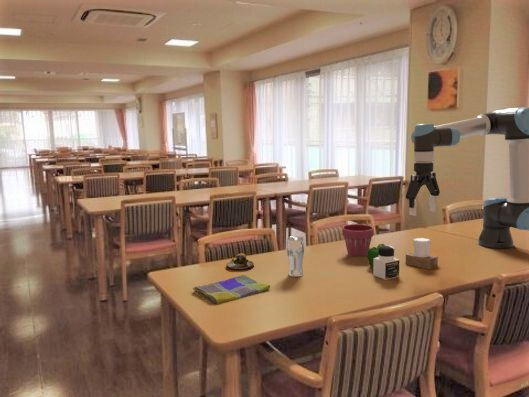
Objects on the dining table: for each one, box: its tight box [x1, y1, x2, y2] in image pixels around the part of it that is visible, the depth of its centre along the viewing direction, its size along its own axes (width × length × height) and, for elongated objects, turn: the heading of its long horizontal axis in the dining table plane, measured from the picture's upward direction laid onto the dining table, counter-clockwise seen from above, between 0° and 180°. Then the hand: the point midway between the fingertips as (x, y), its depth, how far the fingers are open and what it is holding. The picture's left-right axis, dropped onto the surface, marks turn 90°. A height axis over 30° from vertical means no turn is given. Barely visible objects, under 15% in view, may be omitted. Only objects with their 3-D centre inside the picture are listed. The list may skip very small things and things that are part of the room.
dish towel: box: [192, 274, 271, 305], centre depth 166 cm, size 18×24×3 cm
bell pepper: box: [367, 243, 385, 268], centre depth 189 cm, size 8×8×10 cm
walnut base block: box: [405, 251, 439, 270], centre depth 191 cm, size 6×11×4 cm, turn 37°
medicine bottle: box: [372, 244, 400, 281], centre depth 177 cm, size 7×7×12 cm
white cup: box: [412, 237, 431, 257], centre depth 190 cm, size 7×7×7 cm
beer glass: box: [286, 236, 305, 278], centre depth 182 cm, size 7×7×15 cm
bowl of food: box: [226, 249, 255, 270], centre depth 195 cm, size 12×12×8 cm
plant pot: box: [341, 223, 375, 258], centre depth 209 cm, size 14×14×13 cm
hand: (422, 213), depth 188 cm, fingers open, 13 cm apart
